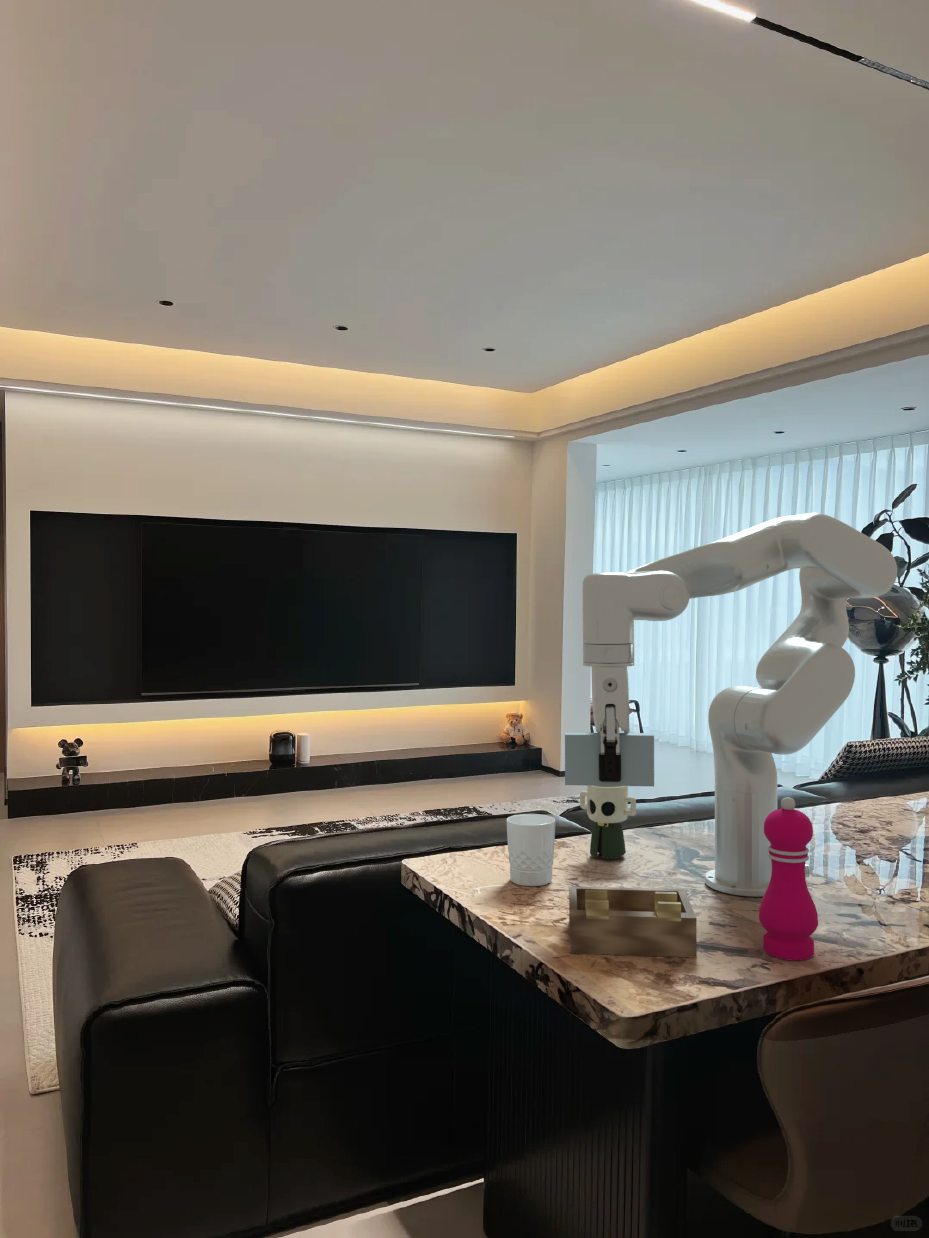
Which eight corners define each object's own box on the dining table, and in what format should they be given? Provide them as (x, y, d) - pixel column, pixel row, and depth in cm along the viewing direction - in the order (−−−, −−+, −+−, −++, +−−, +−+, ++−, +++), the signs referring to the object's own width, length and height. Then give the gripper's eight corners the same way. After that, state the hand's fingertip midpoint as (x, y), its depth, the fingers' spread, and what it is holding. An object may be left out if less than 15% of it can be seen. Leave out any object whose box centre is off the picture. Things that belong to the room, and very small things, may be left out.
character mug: (570, 856, 165) (570, 783, 165) (589, 847, 171) (589, 777, 171) (626, 866, 159) (626, 790, 159) (644, 857, 165) (644, 783, 164)
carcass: (684, 924, 130) (684, 873, 130) (698, 961, 117) (698, 904, 117) (569, 921, 132) (568, 870, 132) (570, 957, 119) (569, 900, 118)
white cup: (553, 889, 147) (552, 825, 147) (503, 886, 148) (503, 824, 148) (557, 874, 155) (557, 814, 154) (510, 872, 156) (510, 812, 156)
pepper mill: (750, 942, 123) (749, 791, 123) (802, 940, 124) (802, 790, 124) (772, 963, 116) (772, 803, 116) (828, 961, 117) (828, 802, 116)
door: (652, 783, 139) (652, 733, 139) (654, 786, 137) (654, 735, 137) (565, 781, 141) (565, 732, 141) (565, 785, 138) (564, 734, 138)
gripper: (638, 659, 130) (639, 790, 130) (630, 652, 146) (631, 769, 146) (583, 659, 131) (585, 789, 131) (582, 652, 147) (583, 769, 147)
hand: (609, 778), depth 139 cm, fingers closed on door, 2 cm apart
